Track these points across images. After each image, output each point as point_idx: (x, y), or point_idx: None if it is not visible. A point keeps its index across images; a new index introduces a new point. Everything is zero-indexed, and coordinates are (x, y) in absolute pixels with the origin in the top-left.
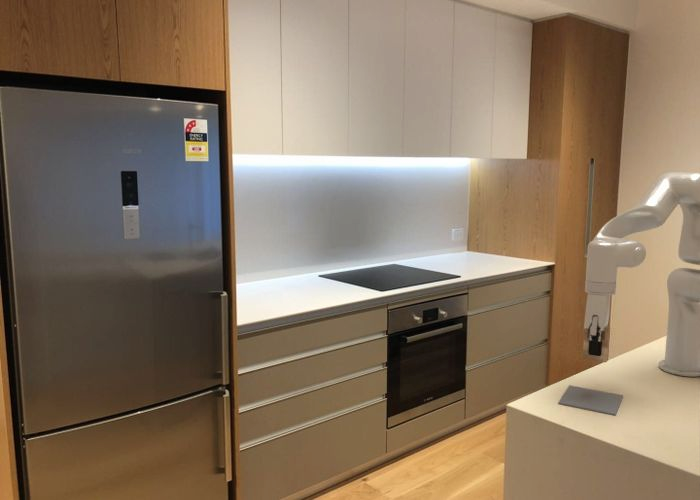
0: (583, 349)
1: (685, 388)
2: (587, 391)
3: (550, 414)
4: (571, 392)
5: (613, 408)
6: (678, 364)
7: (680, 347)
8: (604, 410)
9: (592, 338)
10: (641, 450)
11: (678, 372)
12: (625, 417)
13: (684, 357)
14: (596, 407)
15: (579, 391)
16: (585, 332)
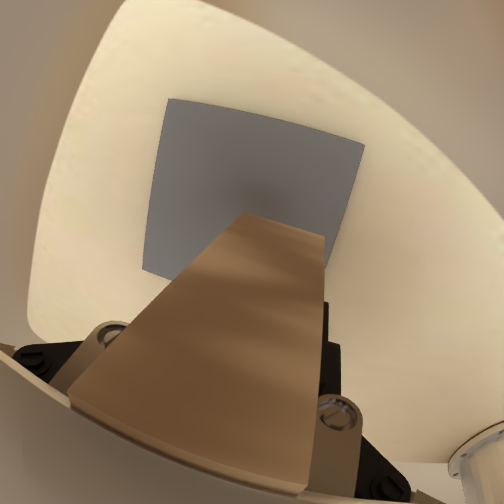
0: (222, 235)
1: (389, 450)
2: (311, 209)
3: (102, 88)
4: (282, 144)
5: (178, 272)
6: (474, 462)
7: (481, 496)
8: (155, 243)
9: (65, 350)
10: (36, 278)
11: (462, 451)
12: (151, 291)
13: (471, 483)
14: (167, 221)
15: (301, 177)
16: (127, 338)
